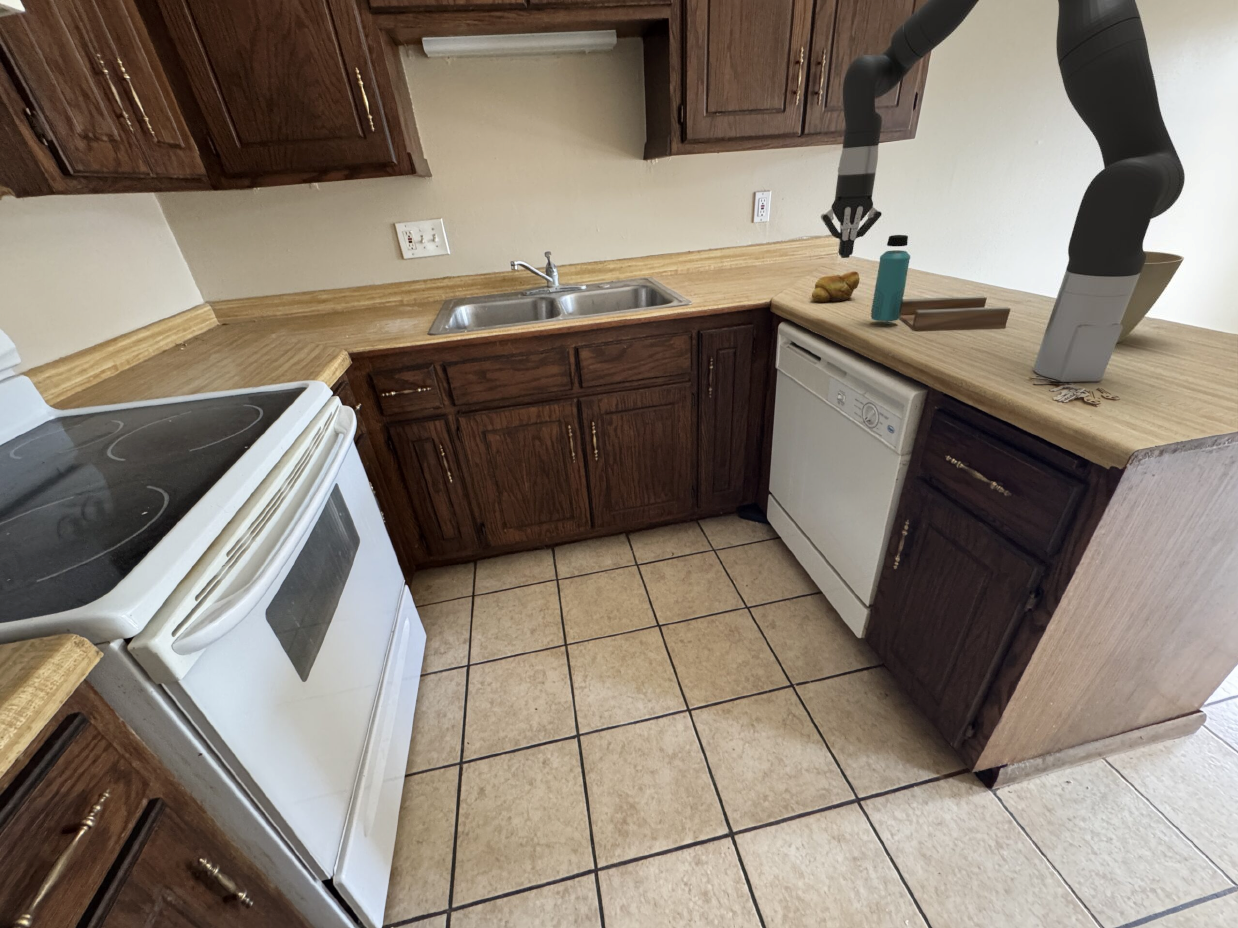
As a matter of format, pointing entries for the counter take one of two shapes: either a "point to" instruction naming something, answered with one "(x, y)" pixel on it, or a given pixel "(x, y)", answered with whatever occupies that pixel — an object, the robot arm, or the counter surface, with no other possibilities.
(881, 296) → the beverage bottle
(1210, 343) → the counter surface
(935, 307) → the walnut cradle
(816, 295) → the bread roll
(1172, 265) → the plant pot
